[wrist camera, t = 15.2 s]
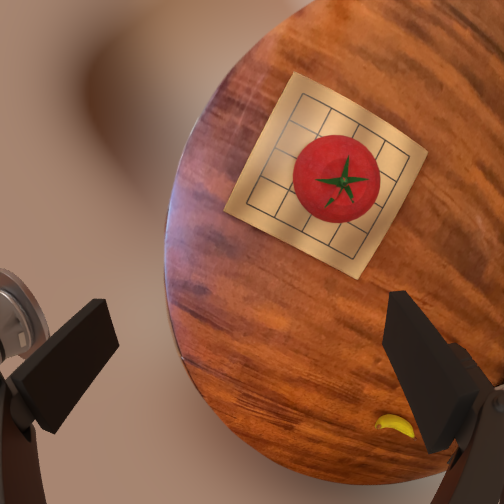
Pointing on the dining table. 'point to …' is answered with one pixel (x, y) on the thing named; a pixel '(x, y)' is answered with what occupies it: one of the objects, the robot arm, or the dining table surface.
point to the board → (282, 164)
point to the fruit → (395, 424)
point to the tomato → (336, 178)
